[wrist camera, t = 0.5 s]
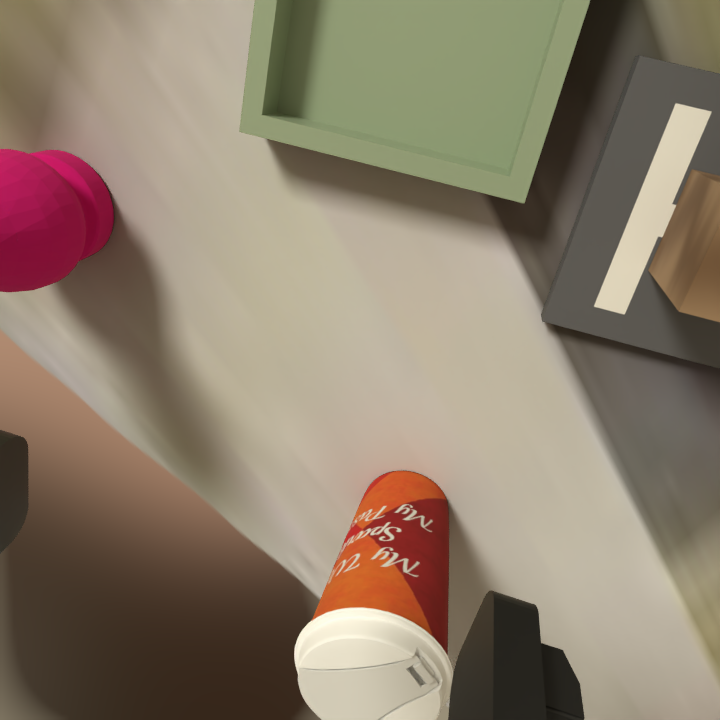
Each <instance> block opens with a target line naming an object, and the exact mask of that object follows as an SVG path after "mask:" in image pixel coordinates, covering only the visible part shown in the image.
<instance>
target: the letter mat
mask: <svg viewBox="0 0 720 720" xmlns="http://www.w3.org/2000/svg"><path fill="white" fill-rule="evenodd" d="M692 169H693V170H698V171H702V172H706V173H710V174H714V175H718V176H720V74H718V73H714V72H709V71H705V70H701V69H696V68H692V67H687V66H683V65H679V64H674V63H670V62H666V61H661V60H657V59H653V58H648V57H644V56H636V57H635V59H634V62H633V65H632V67H631V70H630V73H629V76H628V78H627V81H626V84H625V87H624V89H623V92H622V95H621V98H620V100H619V103H618V106H617V109H616V111H615V114H614V117H613V119H612V122H611V125H610V128H609V130H608V133H607V136H606V139H605V141H604V144H603V147H602V150H601V152H600V155H599V158H598V161H597V163H596V166H595V169H594V171H593V174H592V177H591V180H590V182H589V185H588V188H587V191H586V193H585V196H584V199H583V202H582V204H581V207H580V210H579V213H578V215H577V218H576V221H575V223H574V226H573V229H572V232H571V234H570V237H569V240H568V243H567V245H566V248H565V251H564V254H563V256H562V259H561V262H560V265H559V267H558V270H557V273H556V275H555V278H554V281H553V284H552V286H551V289H550V292H549V295H548V297H547V300H546V303H545V306H544V308H543V311H542V314H541V317H542V321H543V322H547V323H550V324H554V325H558V326H562V327H565V328H569V329H573V330H577V331H580V332H584V333H588V334H592V335H595V336H599V337H603V338H607V339H610V340H614V341H618V342H622V343H625V344H629V345H633V346H637V347H640V348H644V349H648V350H652V351H655V352H659V353H663V354H667V355H670V356H674V357H678V358H682V359H685V360H689V361H693V362H697V363H700V364H704V365H708V366H712V367H715V368H719V369H720V322H717V321H713V320H709V319H705V318H701V317H698V316H694V315H690V314H686V313H682V312H679V311H678V310H677V309H676V307H675V306H674V304H673V303H672V302H671V300H670V299H669V298H668V296H667V295H666V294H665V292H664V291H663V290H662V288H661V287H660V286H659V284H658V283H657V281H656V280H655V279H654V277H653V276H652V275H651V273H650V272H649V271H648V269H649V267H650V265H651V263H652V260H653V258H654V256H655V253H656V251H657V249H658V246H659V244H660V242H661V239H662V237H663V235H664V232H665V230H666V228H667V226H668V223H669V221H670V219H671V216H672V214H673V212H674V209H675V207H676V205H677V202H678V200H679V198H680V195H681V193H682V191H683V189H684V186H685V184H686V182H687V179H688V177H689V175H690V172H691V170H692Z"/></svg>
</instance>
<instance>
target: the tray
mask: <svg viewBox="0 0 720 720" xmlns="http://www.w3.org/2000/svg"><path fill="white" fill-rule="evenodd" d="M589 3H590V0H255V3H254V11H253V20H252V28H251V37H250V45H249V54H248V62H247V71H246V79H245V88H244V96H243V105H242V113H241V122H240V130H239V132H242V133H246V134H250V135H254V136H258V137H262V138H266V139H270V140H274V141H278V142H282V143H286V144H290V145H294V146H298V147H302V148H306V149H310V150H314V151H318V152H322V153H325V154H329V155H333V156H337V157H341V158H345V159H349V160H353V161H357V162H361V163H365V164H369V165H373V166H377V167H381V168H385V169H389V170H393V171H397V172H401V173H405V174H409V175H413V176H417V177H421V178H425V179H429V180H433V181H437V182H441V183H445V184H449V185H453V186H456V187H460V188H464V189H468V190H472V191H476V192H480V193H484V194H488V195H492V196H496V197H500V198H504V199H508V200H512V201H516V202H520V203H525V200H526V197H527V194H528V191H529V187H530V184H531V181H532V178H533V175H534V172H535V169H536V166H537V163H538V160H539V157H540V154H541V151H542V147H543V144H544V141H545V138H546V135H547V132H548V129H549V126H550V123H551V120H552V117H553V114H554V111H555V107H556V104H557V101H558V98H559V95H560V92H561V89H562V86H563V83H564V80H565V77H566V74H567V70H568V67H569V64H570V61H571V58H572V55H573V52H574V49H575V46H576V43H577V40H578V37H579V34H580V30H581V27H582V24H583V21H584V18H585V15H586V12H587V9H588V6H589Z"/></svg>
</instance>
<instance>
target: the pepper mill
mask: <svg viewBox="0 0 720 720" xmlns="http://www.w3.org/2000/svg"><path fill="white" fill-rule="evenodd" d="M113 222H114V213H113V205H112V201H111V198H110V195H109V192H108V190H107V188H106V186H105V184H104V183H103V181H102V179H101V178H100V177H99V175H98V174H97V173H96V172H95V171H94V169H93V168H91V167H90V166H89V165H88V164H87V163H86V162H84V161H83V160H81V159H80V158H78V157H76V156H74V155H72V154H70V153H67V152H64V151H59V150H46V151H41V152H36V153H30V154H27V153H25V152H21V151H17V150H12V149H0V291H1V292H17V291H28V290H35V289H38V288H41V287H44V286H47V285H50V284H53V283H55V282H58V281H59V280H61V279H62V278H64V277H65V276H67V275H68V274H69V273H70V272H71V271H72V270H73V269H74V267H75V266H76V264H77V263H78V261H80V260H82V259H84V258H87V257H89V256H91V255H93V254H95V253H96V252H98V251H99V250H100V249H101V248H102V247H103V246H104V245H105V244H106V242H107V241H108V239H109V237H110V235H111V232H112V228H113Z"/></svg>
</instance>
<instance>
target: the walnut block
mask: <svg viewBox="0 0 720 720" xmlns="http://www.w3.org/2000/svg"><path fill="white" fill-rule="evenodd" d="M648 271H649V272H650V273H651V275H652V276H653V277H654V279H655V280H656V281H657V283H658V284H659V286H660V287H661V288H662V290H663V291H664V292H665V294H666V295H667V296H668V298H669V299H670V300H671V302H672V303H673V304H674V306H675V307H676V309H677V310H678V311H679V312H682V313H686V314H690V315H694V316H698V317H701V318H705V319H709V320H713V321H717V322H720V176H718V175H714V174H710V173H706V172H702V171H698V170H693V169H692V170H691V172H690V175H689V177H688V179H687V182H686V184H685V186H684V189H683V191H682V193H681V195H680V198H679V200H678V202H677V205H676V207H675V209H674V212H673V214H672V216H671V219H670V221H669V223H668V226H667V228H666V230H665V232H664V235H663V237H662V239H661V242H660V244H659V246H658V249H657V251H656V253H655V256H654V258H653V260H652V263H651V265H650V267H649V269H648Z"/></svg>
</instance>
